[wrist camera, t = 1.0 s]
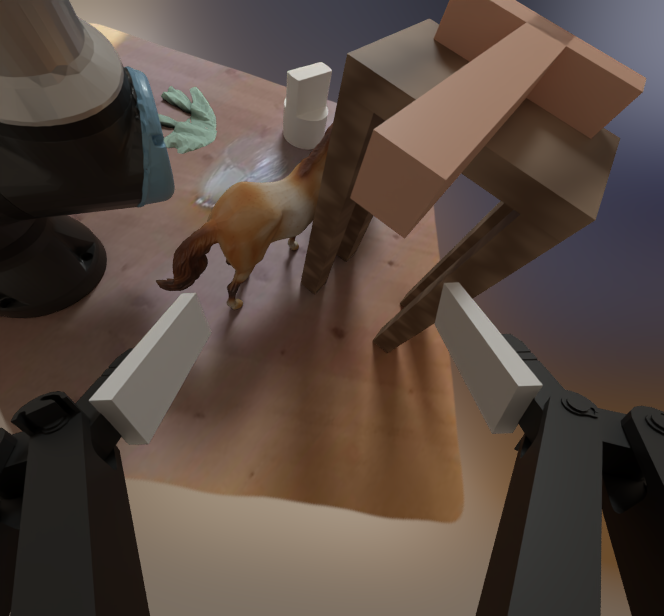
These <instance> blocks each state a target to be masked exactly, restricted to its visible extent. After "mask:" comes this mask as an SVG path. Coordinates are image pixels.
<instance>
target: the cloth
mask: <svg viewBox="0 0 664 616" xmlns="http://www.w3.org/2000/svg"><path fill="white" fill-rule="evenodd" d="M190 92H191V95H192V99H193V103H191V102H190V100H189V99H188V97H187V96H186V95H185V94H184V93H182V92H181V91H179V90H175V89H174V88H173V87H172V86H171V87H169V89H168V92H163V94H162V96H161V97H162V98H163V99H164V100H166V101H168V102H169V103H170V104H172V105H174V106H176V107H179V108H181V109H182V110H184V111H185V112H187V113H190V114H191V115H192V116H191V117H190V118H191V122H192V123H190V118H189V119H187V121H186V122H177V121H175V120H173V119H171V118H169V117H167V116H164V115H160V114H158V116H159V120H160V124H161V126H165V127H170V128H174V131H173V132H172V133H171V134H170V135H168V136H167V137H165V138H164V142H165V145H166V147H168V148H173V147H175V148H176V149H178V153H182V154H183V153H186V152H189V151H193V150H195V149H199V148H201V147H204V146H207V145H208V144H210V143H212V142H213V141H214V140H215V137H216V133H217V131H216V130H215V129H216V117H215V115H214V112H213V110H212V108H211V107H210V105H209V103H208V101H207V100H206V99H205V98H204V96H203V94H202V93H201V92H200V91H199V90H198V88H197V87H193V88H191V89H190ZM205 127H207V128H208V129H206V128H205Z"/></svg>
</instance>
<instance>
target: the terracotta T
mask: <svg viewBox="0 0 664 616" xmlns="http://www.w3.org/2000/svg"><path fill="white" fill-rule="evenodd" d="M434 40H436V41H438V42H439V43H441V44H442V45H444V46H445V47H447V48H449V49H450V50H452V51H453V52H455V53H456V54H458V55H460V56H461V57H463V58H464V59H466V60H467V61H469V63H468V64H466V65H465V66H463V67H462V68H461V69H459V70H458V71H456V72H455V73H453V74H452V75H451V76H449V77H448V78H446V79H445V80H443V81H442V82H441V83H439V84H438V85H436V86H435V87H433V88H432V89H431V90H429V91H428V92H426V93H425V94H423V95H422V96H421V97H419V98H418V99H416V100H415V101H413V102H412V103H411V104H409V105H408V106H406V107H405V108H403V109H402V110H401V111H399V112H398V113H396V114H395V115H393V116H392V117H391V118H389V119H388V120H386V121H385V122H383V123H382V124H381V125H379V126H378V127H376V128H375V129H373V132H372V135H371V138H370V141H369V144H368V147H367V150H366V153H365V156H364V159H363V162H362V164H361V167H360V170H359V173H358V176H357V179H356V182H355V185H354V188H353V191H352V194H351V197H350V198H351V199H352V200H353V201H355V202H356V203H357V204H359V205H360V206H361V207H363V208H364V209H366V210H367V211H368V212H370V213H371V214H372V215H374V216H375V217H376V218H378V219H379V220H380V221H382V222H383V223H384V224H386V225H387V226H388V227H390V228H391V229H392V230H394V231H395V232H396V233H398V234H399V235H400V236H402V237H403V238H406V236H407V235H408V234H409V233H410V232H411V231H412V230H413V228H414V227H415V226H416V225H417V224H418V223H419V221H420V220H421V219H422V218H423V217H424V216H425V214H426V213H427V212H428V211H429V210H430V209H431V208H432V206H433V205H434V204H435V203H436V202H437V201H438V199H439V198H440V197H441V196H442V195H443V194H444V192H445V191H446V190H447V189H448V188H449V187H450V186H451V184H452V183H453V182H454V181H455V180H456V179H457V177H458V176H459V175H460V174H461V173H462V172H463V170H464V169H465V168H466V167H467V166H468V165H469V164H470V162H471V161H472V160H473V159H474V158H475V157H476V155H477V154H478V153H479V152H480V151H481V150H482V148H483V147H484V146H485V145H486V144H487V143H488V142H489V140H490V139H491V138H492V137H493V136H494V135H495V133H496V132H497V131H498V130H499V129H500V128H501V126H502V125H503V124H504V123H505V122H506V121H507V120H508V118H509V117H510V116H511V115H512V114H513V113H514V111H515V110H516V109H517V108H518V107H519V106H520V104H521V103H522V102H523V101H524V100H525V99H526V98H527V99H529V100H530V101H532V102H534V103H535V104H537V105H538V106H540V107H541V108H543V109H545V110H546V111H548V112H549V113H551V114H552V115H554V116H556V117H557V118H559V119H560V120H562V121H563V122H565V123H567V124H568V125H570V126H571V127H573V128H574V129H576V130H578V131H579V132H581V133H582V134H584V135H585V136H587V137H589V138H590V139H591V138H592V137H594V136H595V135H596V134H597V133H598V132H599V131H600V130H601V129H602V128H604V126H606V125H607V124H608V123H609V122H610V121H611V120H612V119H613V118H615V117H616V116H617V115H618V114H619V113H620V112H621V111H622V110H623V109H625V108H626V107H627V106H628V105H629V104H630V103H631V102H632V101H633V100H635V99H636V98H637V97H638V96H639V95H640V94H641V93H642V92H643V89H644V86H645V82H646V78H645V77H643V76H642V75H640V74H638V73H637V72H635V71H633V70H632V69H630V68H628V67H627V66H625V65H623V64H622V63H619V62H618V61H616V60H615V59H613V58H611V57H610V56H608V55H606V54H604V53H603V52H601V51H600V50H598V49H596V48H595V47H593V46H591V45H589V44H588V43H586V42H584V41H583V40H581V39H579V38H577V37H576V36H574V35H573V34H571V33H569V32H568V31H566V30H564V29H562V28H561V27H559V26H557V25H556V24H554V23H552V22H551V21H549V20H547V19H545V18H544V17H542V16H541V15H539V14H537V13H536V12H534V11H532V10H531V9H529V8H527V7H525V6H524V5H522V4H520V3H518V2H517V1H515V0H450V1H449V3H448V6H447V8H446V10H445V13H444V15H443V17H442V20H441V22H440V24H439V27H438V29H437V32H436V34H435V36H434Z"/></svg>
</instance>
